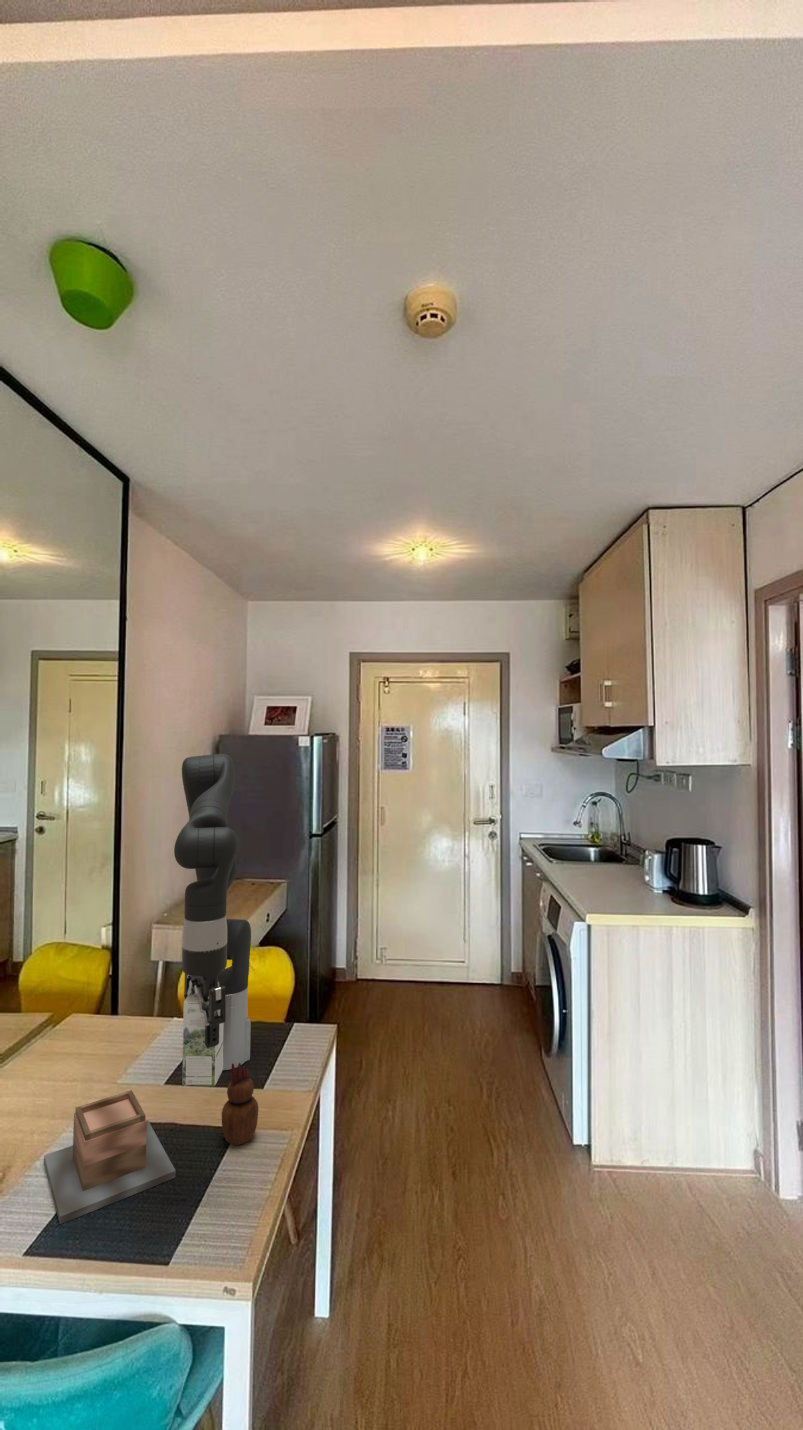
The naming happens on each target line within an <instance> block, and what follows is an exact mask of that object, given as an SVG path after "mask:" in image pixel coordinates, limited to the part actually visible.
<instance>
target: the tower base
mask: <svg viewBox="0 0 803 1430" xmlns="http://www.w3.org/2000/svg"><path fill="white" fill-rule="evenodd" d="M72 1130H73V1136H72V1145H70V1146H67V1147H64V1148H62V1149H61V1148H60V1149H59V1150H56V1151H53V1152H50V1153H46V1154H44V1155H43V1163H44V1166H45V1167H44V1168H45V1172H46V1176H47V1179H48V1184H49V1188H50V1192H51V1196H52V1199H53V1204H54V1208H55V1211H56V1216H57V1219H58V1223H59V1225H62V1224H65V1223H68V1222H69V1221H72V1220H75V1219H77V1218H80V1217H82V1216H84V1215H87V1214H89V1213H92V1212H94V1211H97V1210H98V1209H102V1208H105V1207H106V1206H109V1205H112V1204H114V1203H117V1202H119V1201H122V1200H124V1199H126V1198H128V1197H132V1196H133V1195H136V1194H138V1193H142V1192H144V1191H146V1190H149V1189H151V1188H153V1187H156V1186H159V1185H161V1184H163V1183H166V1182H169V1181H170V1180H173V1179H175V1178H176V1173H177V1172H176V1168H175V1166H174V1165H173V1163H172V1161H171V1160H170V1157H169V1156H168V1154H167V1152H166V1150H165V1148H164V1147H163V1145H162V1143H161V1141H160V1139H159V1137H158V1136H157V1134H156V1132H155V1130H154V1129H153V1127H152V1125H151V1123H150V1121H149V1119H146V1113H145V1111H144V1110H143V1107H142V1106H141V1105H140V1102H139V1100H138V1098H137V1097H136V1095H135V1092H134V1091H133V1090H132V1089H131V1090H128V1091H125V1092H121V1093H118V1094H115V1095H112V1096H111V1095H110V1096H109V1097H105V1098H103V1099H99V1100H96V1101H92V1102H89V1103H86V1104H83V1105H79V1106H76V1107H75V1111H74V1112H73V1129H72Z"/></svg>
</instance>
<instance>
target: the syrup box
mask: <svg viewBox="0 0 803 1430" xmlns="http://www.w3.org/2000/svg"><path fill="white" fill-rule="evenodd" d="M204 1004H205V1005H209V1001H207V1002H204ZM182 1008H183V1011H182V1012H183V1013H182V1014H183V1016H182V1017H183V1020H182V1021H183V1022H182V1023H183V1025H182V1026H183V1029H182V1031H183V1032H182V1082H181V1083H182V1087H215V1086H216V1084H217V1083H218V1081H219V1078H220V1077H221V1075H222V1072H223V1071H224V1070H223V1025H224V1023H221V1024H219V1044H218V1045H216V1046H213V1047H210V1048H207V1047H206V1046H205V1025H206V1024H205V1019H204V1014H203V1013H201V1012H200V1009H199V1003H198V998H197V996H196V995H195V993H190V994H189V995H188V996H187V998H186V999H184V1001H183V1007H182ZM208 1013H209V1011H208ZM214 1016H216V1011H215V1012H214Z"/></svg>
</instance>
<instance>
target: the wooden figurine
mask: <svg viewBox="0 0 803 1430" xmlns="http://www.w3.org/2000/svg"><path fill="white" fill-rule="evenodd" d="M245 1067H246V1066H242V1065H241V1064H240V1063H239V1064H238V1067H237V1068H235V1067H234V1064H232V1069H231V1077H230V1082H229V1083H228V1085H227V1090H226V1095H227V1099H228V1100H227V1101H226V1102H225V1104H223V1107H222V1111H221V1125H222V1132H223V1135H224V1138H225V1140H226V1142H227V1143H228V1144H229V1145H234V1146H239V1145H243V1144H246V1143H247V1142H249V1141H250V1140H251V1139H252V1138H253V1137H254V1134H255V1133H256V1129H257V1126H258V1118H259V1104H258V1101H257V1099H256V1098H255V1096H254V1095H253V1094H254V1090H255V1085H254V1081H253V1080H252V1079H251V1078H250V1072H249V1069H248V1068H246V1069H245ZM236 1070H237V1071H236Z"/></svg>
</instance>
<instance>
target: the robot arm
mask: <svg viewBox="0 0 803 1430" xmlns="http://www.w3.org/2000/svg"><path fill="white" fill-rule="evenodd" d="M181 779H182V784H183V792H184V795H185V802H186V806H187V812H188V817H189V819H188V821H187V822H186V824H185V825H184V826H183V827H182V829H181V830H180V831H179V832H178V835H177V837H176V840H175V843H174V849H173V853H174V854H173V855H174V859H175V861H176V862H177V864H178V865H179V866H180V867H182V868H184V869H186V870H195V875H196V881H193V882H191V883H189V884H188V885H187V886H186V888H185V892H184V919H183V927H182V938H181V939H182V942H181V944H182V947H181V948H182V950H181V952H182V954H181V970H182V972H183V973H184V989H183V990H184V991H183V998H184V1000H186V998H187V996H188V995H189V994H190V993H195V995H196V996H197V998H198V1003H199V1009H200V1012H201V1013H203V1014H204V1019H205V1024H206V1025H205V1046H206V1047H207V1048H210V1047H213V1046H216V1045H218V1044H219V1024H221V1023H224V1025H223V1070H222V1071H228V1070H232V1064H234V1067H235V1069H237V1068H238V1064H239V1063H240V1064H241V1066H242V1065H243V1064H244V1063H246V1062H247V1061H250V1060H251V1026H252V1025H251V1024H252V1023H251V1021H252V1020H251V1019H250V1017H249V1016H248V1007H249V1006H248V1003H249V1002H248V1001H249V998H248V997H249V996H248V995H249V974H250V957H251V946H252V945H251V944H252V927H251V924H250V922H249V921H248V920H246V919H236V918H235V919H234V918H227V896H228V895H227V893H228V890H229V889H230V887H231V886H232V884H233V882H234V880H235V878H236V875H237V872H238V865H237V853H238V849H239V847H238V846H239V839H238V837H237V834H236V832H235V831H234V830H233V829H232V828H230V827H228V811H229V805H230V803H231V800H232V798H233V794H234V791H235V785H236V771H235V765H234V762H233V759H232V757H231V756H230V755H228V754H226V753H214V754H207V755H206V754H205V755H195V756H194V755H193V756H189V757H186V758H185V759H184V760H183V761H182V765H181ZM228 961H231V966H228V965H227V964H228ZM207 1001H209V1005H205V1004H204V1002H207ZM208 1011H209V1013H208ZM215 1011H216V1016H214V1012H215Z"/></svg>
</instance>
